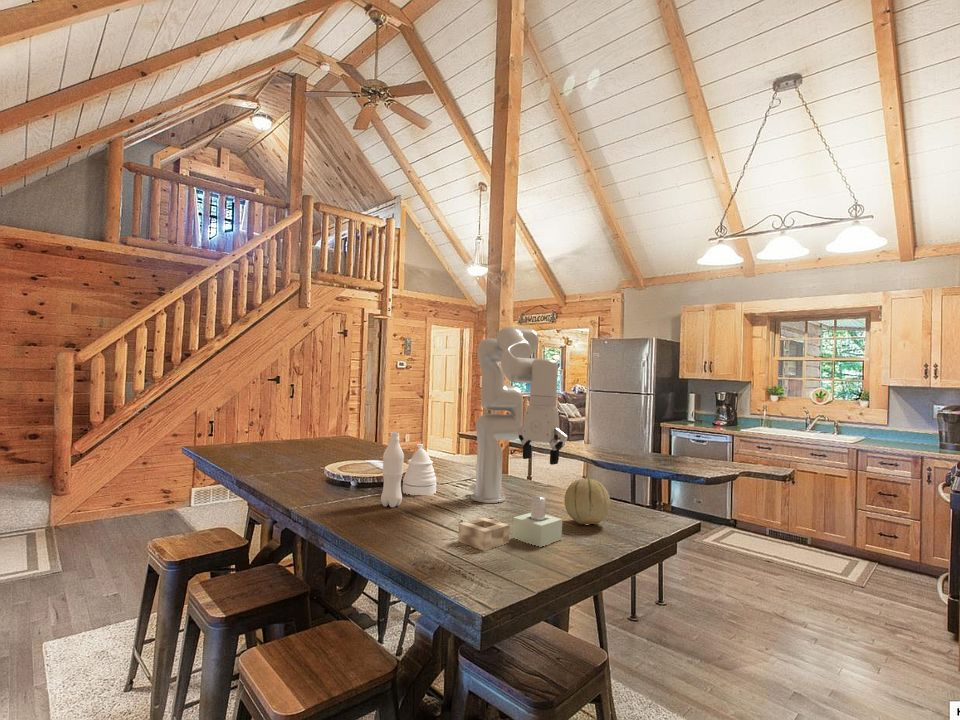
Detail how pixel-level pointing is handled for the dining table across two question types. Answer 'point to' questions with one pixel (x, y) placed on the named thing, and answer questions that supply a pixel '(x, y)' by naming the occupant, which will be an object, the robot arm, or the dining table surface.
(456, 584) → the dining table surface
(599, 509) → the cantaloupe
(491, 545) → the socket block
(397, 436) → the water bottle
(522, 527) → the block
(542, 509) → the steel peg
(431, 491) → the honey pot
